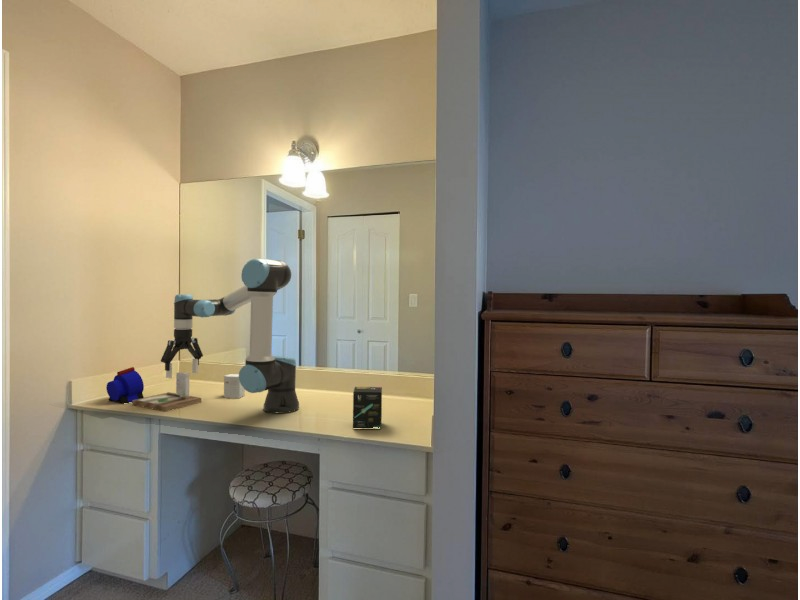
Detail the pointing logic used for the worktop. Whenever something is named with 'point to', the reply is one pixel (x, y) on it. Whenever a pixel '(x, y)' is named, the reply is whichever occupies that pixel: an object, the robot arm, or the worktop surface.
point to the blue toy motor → (126, 386)
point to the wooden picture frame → (166, 401)
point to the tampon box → (367, 407)
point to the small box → (233, 386)
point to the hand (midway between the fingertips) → (182, 375)
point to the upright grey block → (181, 385)
